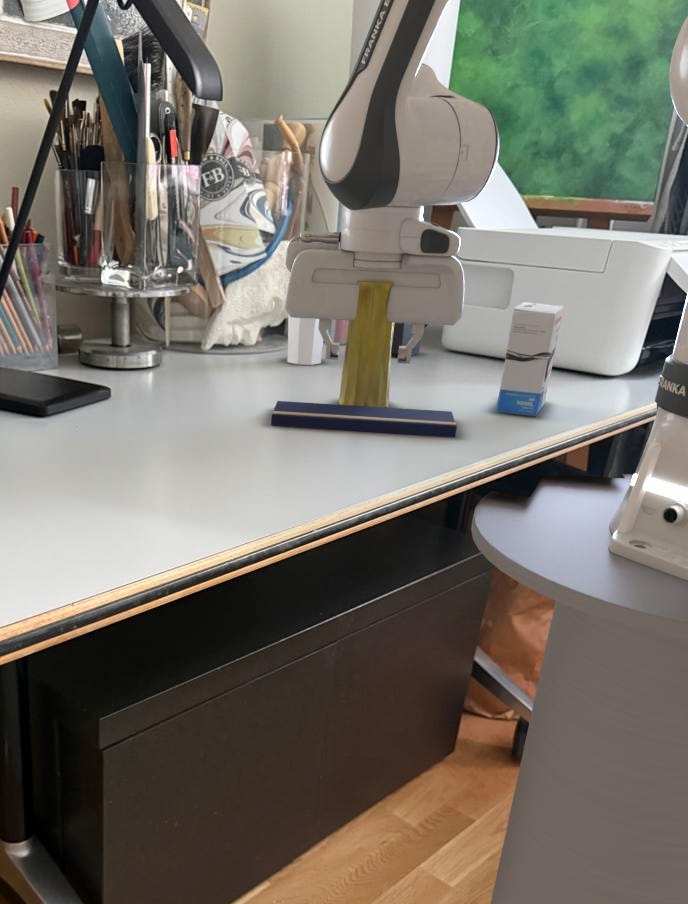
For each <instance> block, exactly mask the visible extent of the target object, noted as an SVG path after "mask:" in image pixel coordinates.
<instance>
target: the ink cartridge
mask: <svg viewBox="0 0 688 904" xmlns="http://www.w3.org/2000/svg"><path fill="white" fill-rule="evenodd" d="M411 325H412V324H410V323H394V333H393V341H392V347H391V356H395V357H398V355H399V352H398V351H399V346H406V345H407V343H408V342H409V341H410V339H411V338H412V336H413V335H414V334H412V332H411ZM421 341H422V338H421V339H420V340H419V341H418V343H417V344H416V346H415V347H414V348H413V349H412V353H411V356H415V355H418V354H419V353H420V349H421Z"/></svg>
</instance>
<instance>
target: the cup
mask: <svg viewBox="0 0 688 904" xmlns="http://www.w3.org/2000/svg"><path fill="white" fill-rule="evenodd" d="M288 283H289V279H288V280H286V281H285V296H286V295H287V288H288ZM318 328H319V319H309V318H292V317H290V315H289V314H288V313H287V356H286V357H287V359H286V362H287V363H290V364H295V365H302V366H303V365H305V366H308V365H309V366H313V365H318V364H319V365H320V364H321V363H322V353H323V346H324V340H323V338H322V336H321V334H320V331H319V329H318Z"/></svg>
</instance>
